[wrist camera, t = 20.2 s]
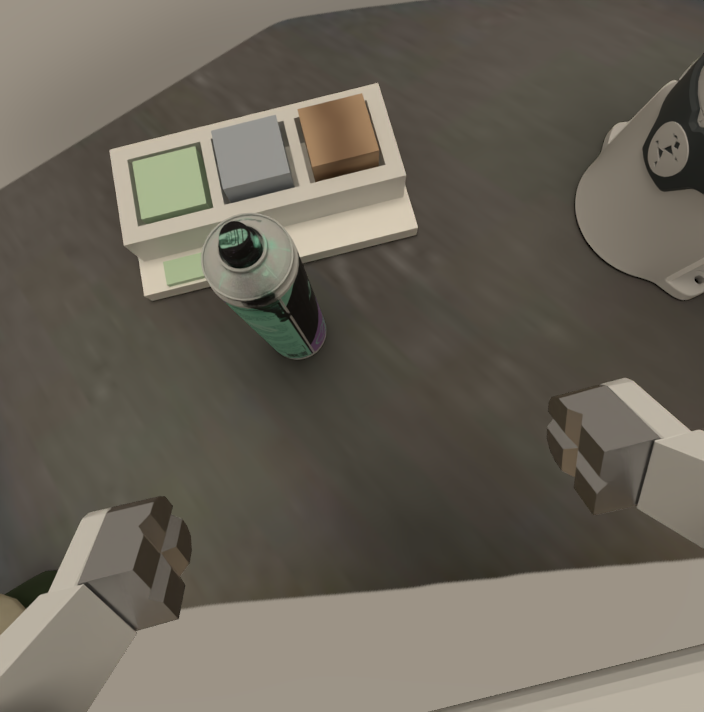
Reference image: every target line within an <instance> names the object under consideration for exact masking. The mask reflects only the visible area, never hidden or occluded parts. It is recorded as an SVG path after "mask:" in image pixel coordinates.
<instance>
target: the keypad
mask: <svg viewBox="0 0 704 712" xmlns="http://www.w3.org/2000/svg"><path fill="white" fill-rule="evenodd" d="M361 93H362V94H363V97H364V101H365V104H366V107H367V111H368V114H369V118H370V121H371V124H372V128H373V131H374V135H375V138H376V141H377V145H378V148H379V167H375V168H371V169H367V170H363V171H359V172H355V173H351V174H347V175H343V176H338V177H334V178H330V179H326V180H322V181H318V182H315V179H314V175H313V172H312V168H311V164H310V160H309V156H308V152H307V148H306V144H305V140H304V136H303V132H302V127H301V123H300V119H299V114H298V110H297V109H300V108H305V107H309V106H313V105H317V104H321V103H325V102H329V101H333V100H337V99H341V98H345V97H349V96H353V95H357V94H361ZM272 115H276V117H277V120H278V124H279V127H280V131H281V134H282V138H283V141H284V145H285V149H286V153H287V157H288V161H289V165H290V169H291V174H292V178H293V182H294V186H295V187H294V188H290V189H286V190H282V191H278V192H274V193H270V194H266V195H262V196H258V197H254V198H250V199H246V200H242V201H238V202H234V203H231V202H230V200H229V199H228V197H227V195H226V194H225V192H224V190H223V187H222V182H221V178H220V173H219V168H218V163H217V158H216V153H215V149H214V144H213V139H212V134H211V131H212V130H216V129H220V128H224V127H228V126H232V125H236V124H240V123H244V122H248V121H252V120H256V119H260V118H264V117H268V116H272ZM194 146H195V147H196V148H197V150H198V152H199V153H200V155H201V157H202V159H203V160H204V163H205V168H206V173H207V178H208V183H209V188H210V193H211V198H212V203H213V208H210V209H206V210H202V211H198V212H194V213H190V214H186V215H182V216H178V217H174V218H170V219H166V220H162V221H158V222H154V223H150V224H146V223H145V222H144V221H143V220H142V219H141V214H140V207H139V201H138V195H137V189H136V183H135V176H134V170H133V164H132V162H133V161H137V160H141V159H145V158H149V157H153V156H157V155H161V154H165V153H170V152H174V151H178V150H182V149H186V148H190V147H194ZM110 157H111V163H112V170H113V177H114V183H115V190H116V196H117V203H118V210H119V216H120V223H121V230H122V236H123V243H124V246H125V247H126V248H127V249H129V250H130V251H131V252H133V253H134V254H135V255H136V256H138V258H139V265H140V271H141V278H142V284H143V290H144V296H145V297H147V298H148V299H150V300H151V301H155V300H159V299H163V298H167V297H171V296H175V295H179V294H183V293H187V292H190V291H194V290H198V289H202V288H206V287H210V285H209V283H208V281H207V280H206V278H205V276H204V274H203V271H202V266H201V253H202V248H203V245H204V243H205V240H206V238H207V237H208V235H209V234H210V232H211V231H212V230H213V229H214V228H215V227H216V226H217V225H218V224H219V223H221V222H222V221H224V220H225V219H227V218H229V217H231V216H234V215H238V214H241V213H259V214H263V215H266V216H269V217H271V218H273V219H274V220H276V221H277V222H279V223H280V224H281V225H282V226H283V227H284V228H285V230H286V231H287V232H288V234H289V235H290V236H291V238H292V239H293V241H294V244H295V246H296V248H297V251H298V253H299V256H300V258H301V261H302V263H306V262H310V261H314V260H318V259H322V258H326V257H330V256H334V255H338V254H342V253H346V252H350V251H354V250H358V249H362V248H366V247H370V246H374V245H378V244H382V243H386V242H390V241H394V240H398V239H402V238H406V237H410V236H414V235H416V234H417V230H418V226H417V223H416V219H415V216H414V213H413V209H412V206H411V203H410V200H409V196H408V193H407V190H406V186H405V180H406V173H405V170H404V166H403V163H402V160H401V157H400V153H399V150H398V147H397V143H396V140H395V137H394V134H393V130H392V127H391V124H390V121H389V117H388V114H387V111H386V107H385V104H384V101H383V98H382V94H381V91H380V88H379V85H378V83H376V84H372V85H368V86H364V87H360V88H356V89H352V90H348V91H344V92H340V93H336V94H332V95H328V96H324V97H320V98H316V99H312V100H308V101H303V102H299V103H295V104H291V105H287V106H283V107H279V108H275V109H271V110H267V111H263V112H259V113H255V114H251V115H247V116H243V117H239V118H235V119H231V120H227V121H223V122H219V123H215V124H211V125H207V126H203V127H199V128H195V129H191V130H187V131H183V132H179V133H175V134H171V135H167V136H163V137H159V138H155V139H151V140H147V141H143V142H139V143H135V144H131V145H127V146H123V147H119V148H115V149H111V150H110Z"/></svg>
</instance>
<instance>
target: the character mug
mask: <svg viewBox="0 0 704 712" xmlns="http://www.w3.org/2000/svg"><path fill="white" fill-rule="evenodd" d="M57 572H58V571H45V572H43V573H41V574H39V575H37V576H35V577H33V578H32V579H30V580H28V581H26V582H25V583H23V584H21V585H20V586H18V587H16V588H15V589H13V590H11V591H10V592H8V593H6V594H5V595H3V594H0V635H1V634H2V633H3V632H4V631H5V630H6V629H7V628H8V627H9V626H10V625H11V624H12V623H13V622H14V621H15V620H16V619H17V618H18V617H19V616H20V615H21V614H22V613H23V612H24V611H25V610H26V609H27V608H28V607H29V606H30V605H31V604H32V603H33V602H34V601H35V600H36V599H37V598H38V596H39V595H42V594H45V593H48V592H49V589H50V587H51V585H52V583H53V581H54V579H55V576H56V574H57Z"/></svg>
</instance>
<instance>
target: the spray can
mask: <svg viewBox="0 0 704 712" xmlns="http://www.w3.org/2000/svg"><path fill="white" fill-rule="evenodd" d="M201 266H202V271H203V274H204V276H205V278H206V280H207V281H208V283H209V285H210V287H211V288H212V289H213V291H214V292H215V293H216V294H217V295H218V296H219V297H220V298H221V299H222V300H223V301H224V302H225V303H226V304H227V305H229V306H230V307H231V308H232V309H233V310H234V311H235V312H236V313H237V314H238V315H239V316H240V317H241V318H242V319H243V320H244V321H246V322H247V323H248V324H249V325H250V326H251V327H252V328H253V329H254V330H255V331H256V332H257V333H258V334H259V335H260V336H261V337H263V338H264V339H265V340H266V341H267V342H268V343H269V344H270V345H271V346H272V347H273V348H274V349H275V350H276V351H277V352H279V353H280V354H281V355H283V356H285V357H287V358H290V359H295V360H299V359H305V358H308V357H310V356H312V355H314V354H315V353H317V352H318V351H319V349H320V348H321V347H322V345H323V344H324V341H325V338H326V324H325V321H324V318H323V315H322V313H321V310H320V308H319V305H318V302H317V300H316V297H315V295H314V292H313V290H312V287H311V284H310V282H309V279H308V277H307V274H306V271H305V269H304V266H303V264H302V261H301V258H300V256H299V253H298V251H297V248H296V246H295V244H294V241H293V239H292V238H291V236H290V235H289V234H288V232H287V231H286V230H285V228H284V227H283V226H282V225H281V224H280V223H279V222H277V221H276V220H274V219H273V218H271V217H269V216H266V215H263V214H259V213H241V214H238V215H234V216H231V217H229V218H227V219H225V220H224V221H222V222H221V223H219V224H218V225H217V226H216V227H215V228H214V229H213V230H212V231H211V232H210V234H209V235H208V237H207V238H206V240H205V243H204V245H203V248H202V253H201Z"/></svg>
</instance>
